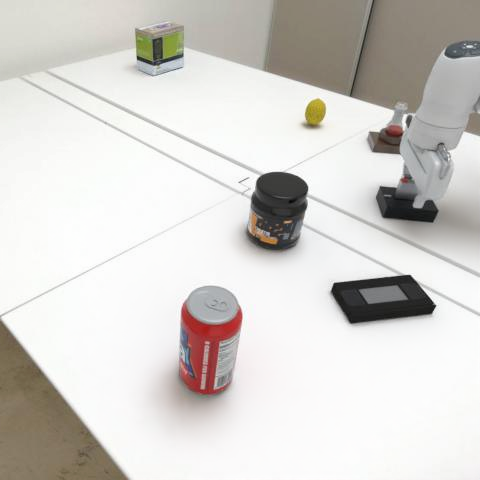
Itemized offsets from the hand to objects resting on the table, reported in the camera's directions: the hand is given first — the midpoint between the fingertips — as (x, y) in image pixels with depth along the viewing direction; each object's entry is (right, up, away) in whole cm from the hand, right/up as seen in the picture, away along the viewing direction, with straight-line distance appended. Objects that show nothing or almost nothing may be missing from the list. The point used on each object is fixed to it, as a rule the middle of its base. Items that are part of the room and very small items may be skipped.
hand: (410, 193), depth 96 cm
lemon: (-9, +23, +36) cm, 43 cm away
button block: (+8, +15, +25) cm, 30 cm away
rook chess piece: (+13, +21, +33) cm, 41 cm away
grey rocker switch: (0, -1, +1) cm, 1 cm away
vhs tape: (-15, -20, -18) cm, 32 cm away
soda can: (-46, -29, -30) cm, 62 cm away
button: (+8, +18, +23) cm, 30 cm away
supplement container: (-30, -9, -4) cm, 32 cm away
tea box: (-53, +54, +74) cm, 106 cm away
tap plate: (0, -3, +3) cm, 4 cm away
